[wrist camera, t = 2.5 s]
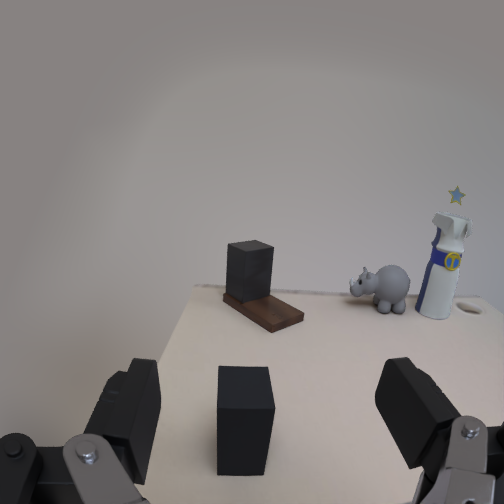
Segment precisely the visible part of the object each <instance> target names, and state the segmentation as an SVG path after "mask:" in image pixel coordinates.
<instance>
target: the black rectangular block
mask: <svg viewBox="0 0 504 504" xmlns="http://www.w3.org/2000/svg"><path fill="white" fill-rule="evenodd" d="M274 414H275V403H274V398H273V392H272V387H271V381H270V375H269V370H268V367H240V366H219V368H218V394H217V475H234V476H252V475H264V471H265V465H266V460H267V454H268V449H269V443H270V437H271V432H272V426H273V420H274Z"/></svg>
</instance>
